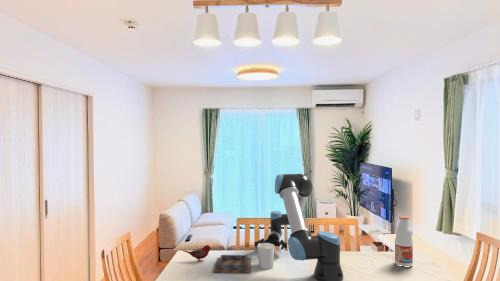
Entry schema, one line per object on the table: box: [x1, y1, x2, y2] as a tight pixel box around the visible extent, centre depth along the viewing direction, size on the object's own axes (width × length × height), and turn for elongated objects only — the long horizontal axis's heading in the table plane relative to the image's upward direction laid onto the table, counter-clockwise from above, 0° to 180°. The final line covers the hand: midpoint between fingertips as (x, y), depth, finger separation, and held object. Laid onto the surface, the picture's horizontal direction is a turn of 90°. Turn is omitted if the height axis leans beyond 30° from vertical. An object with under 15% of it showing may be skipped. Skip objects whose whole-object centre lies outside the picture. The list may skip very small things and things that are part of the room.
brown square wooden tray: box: [212, 254, 252, 274], centre depth 190 cm, size 20×20×4 cm
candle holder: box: [257, 243, 276, 270], centre depth 189 cm, size 10×10×12 cm
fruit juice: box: [394, 215, 414, 266], centre depth 192 cm, size 9×9×28 cm
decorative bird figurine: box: [182, 244, 212, 263], centre depth 197 cm, size 3×18×10 cm, turn 83°
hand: (268, 249), depth 199 cm, fingers open, 13 cm apart
